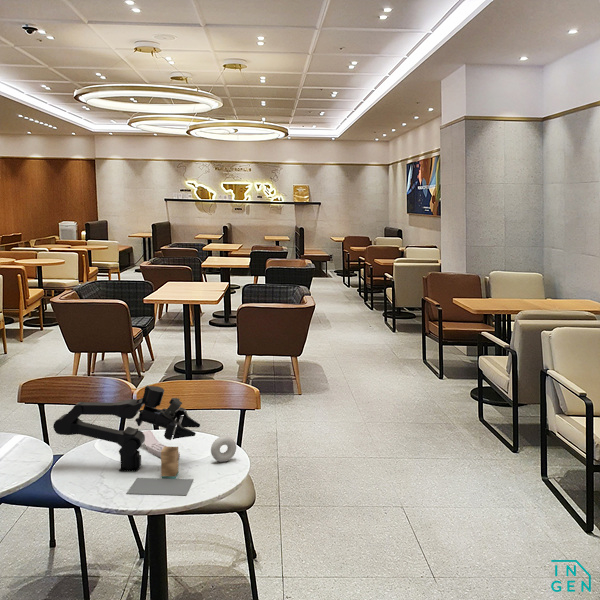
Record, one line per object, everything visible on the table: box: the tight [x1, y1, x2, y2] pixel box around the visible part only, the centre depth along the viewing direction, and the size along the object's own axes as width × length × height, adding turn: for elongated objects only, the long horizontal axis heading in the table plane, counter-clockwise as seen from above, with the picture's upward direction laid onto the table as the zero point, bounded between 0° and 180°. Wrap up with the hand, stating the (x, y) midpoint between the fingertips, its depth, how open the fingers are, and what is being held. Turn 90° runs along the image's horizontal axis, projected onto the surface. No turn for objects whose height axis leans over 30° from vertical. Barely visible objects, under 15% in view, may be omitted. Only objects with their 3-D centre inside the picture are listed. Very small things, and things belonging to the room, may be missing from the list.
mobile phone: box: [142, 429, 181, 459], centre depth 259 cm, size 6×6×25 cm
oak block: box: [160, 446, 180, 479], centre depth 236 cm, size 5×5×10 cm
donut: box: [210, 435, 237, 463], centre depth 251 cm, size 10×3×10 cm, turn 117°
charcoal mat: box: [126, 477, 194, 497], centre depth 228 cm, size 20×13×1 cm, turn 88°
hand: (197, 430), depth 241 cm, fingers open, 9 cm apart
